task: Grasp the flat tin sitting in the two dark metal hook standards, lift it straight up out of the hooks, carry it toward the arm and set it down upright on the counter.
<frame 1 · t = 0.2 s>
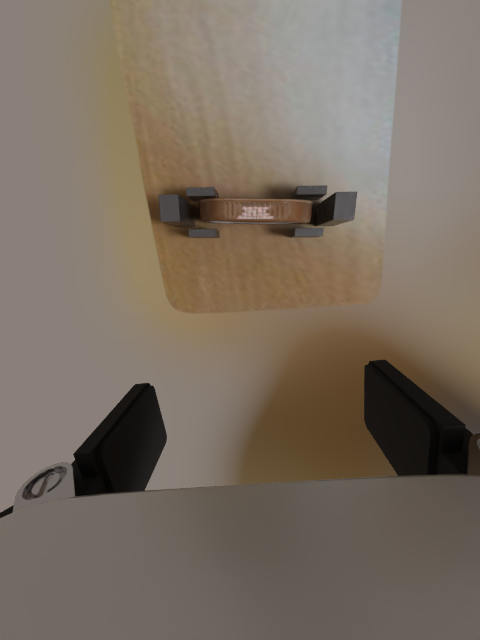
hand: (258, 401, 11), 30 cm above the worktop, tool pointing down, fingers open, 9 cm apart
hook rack: (254, 216, 36), on the worktop
tin: (255, 217, 37), resting in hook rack
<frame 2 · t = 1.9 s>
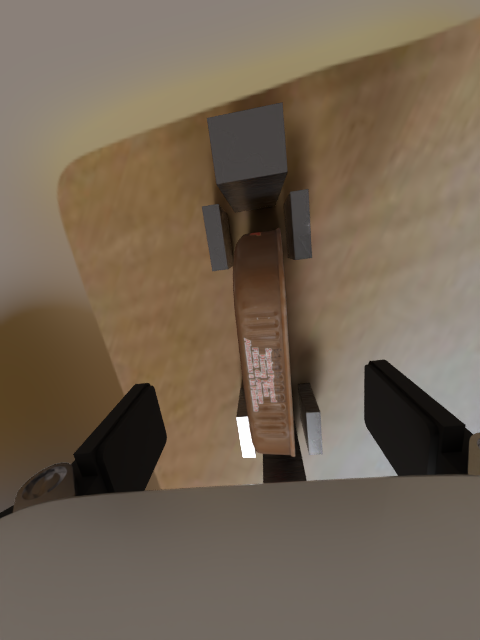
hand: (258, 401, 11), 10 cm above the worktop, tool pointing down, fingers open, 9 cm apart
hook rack: (268, 328, 20), on the worktop
tin: (267, 327, 21), resting in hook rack
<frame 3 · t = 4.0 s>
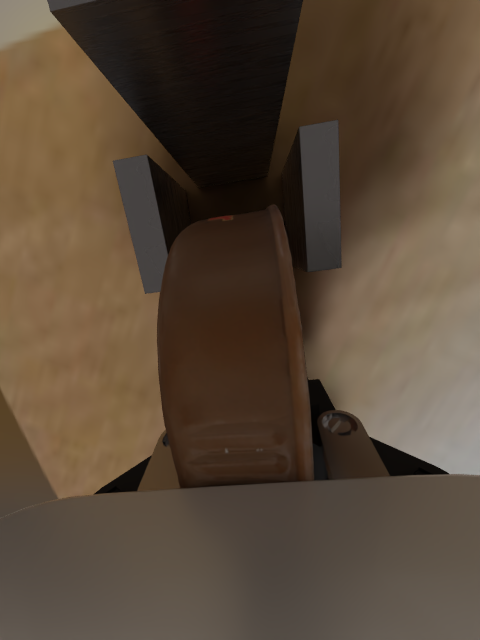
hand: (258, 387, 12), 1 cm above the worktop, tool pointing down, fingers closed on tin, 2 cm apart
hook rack: (257, 375, 13), on the worktop
tin: (253, 374, 13), resting in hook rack, touching gripper
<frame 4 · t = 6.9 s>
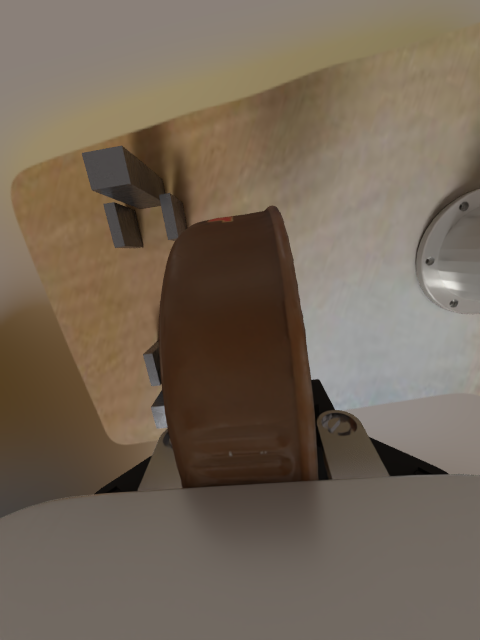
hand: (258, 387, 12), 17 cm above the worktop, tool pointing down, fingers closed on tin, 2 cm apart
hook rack: (172, 293, 28), on the worktop
tin: (252, 375, 13), point 15 cm above the worktop, touching gripper
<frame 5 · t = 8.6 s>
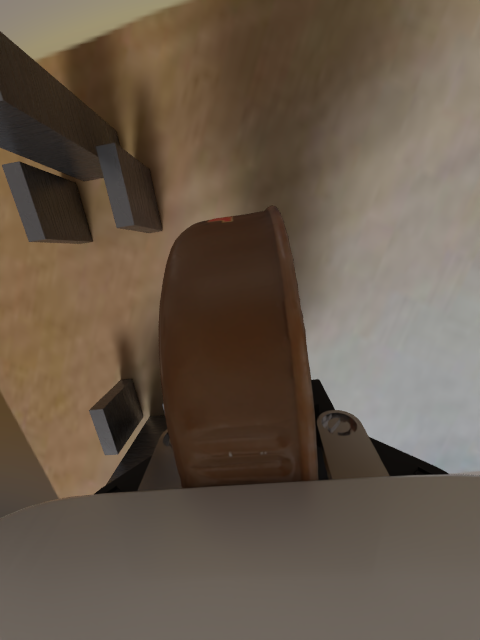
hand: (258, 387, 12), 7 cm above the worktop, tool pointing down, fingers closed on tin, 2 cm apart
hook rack: (139, 312, 18), on the worktop
tin: (252, 375, 13), point 6 cm above the worktop, touching gripper
when the fingers open (3 cm above the worktop, at t = 10.1 s): tin drops 1 cm, on the worktop.
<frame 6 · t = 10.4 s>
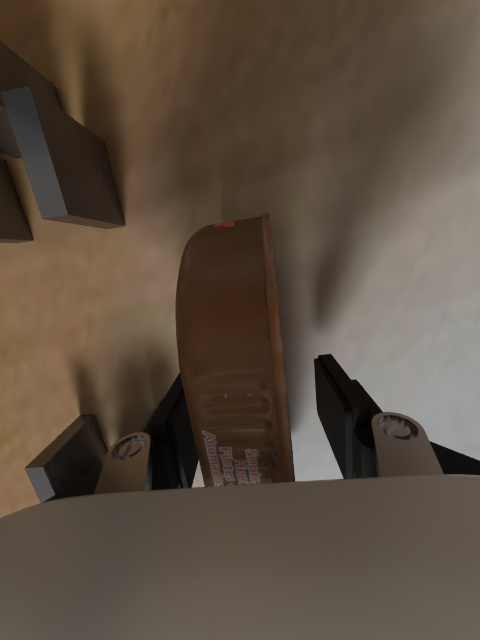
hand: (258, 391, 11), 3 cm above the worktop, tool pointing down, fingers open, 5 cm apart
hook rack: (99, 332, 14), on the worktop
tin: (255, 361, 15), on the worktop
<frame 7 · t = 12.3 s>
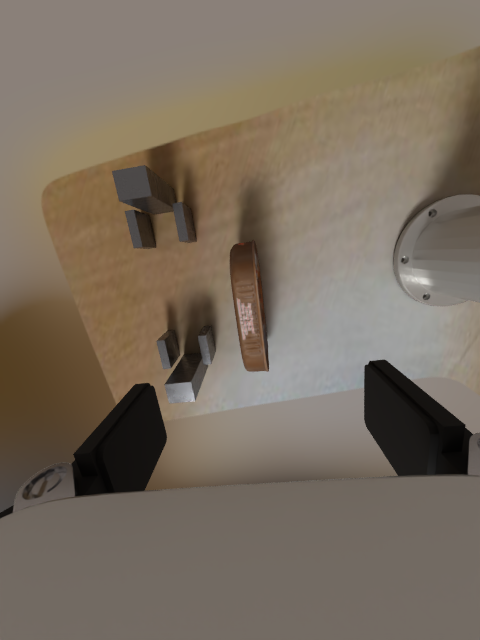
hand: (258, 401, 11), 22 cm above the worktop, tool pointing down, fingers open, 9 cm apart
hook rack: (181, 288, 32), on the worktop
tin: (251, 302, 32), on the worktop
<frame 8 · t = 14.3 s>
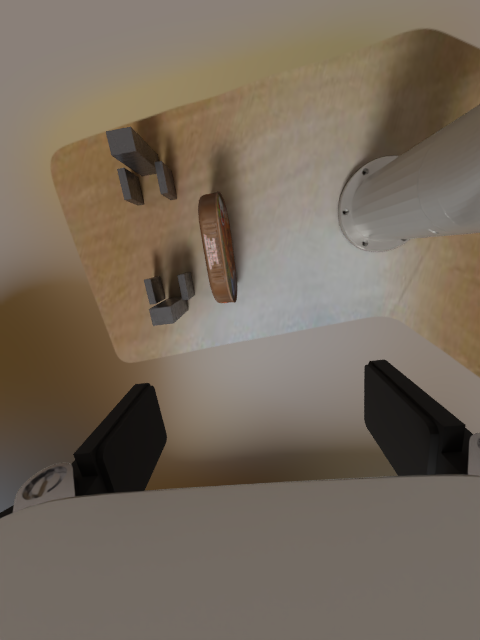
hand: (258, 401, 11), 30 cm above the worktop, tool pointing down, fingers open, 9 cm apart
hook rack: (165, 239, 38), on the worktop
tin: (223, 251, 38), on the worktop
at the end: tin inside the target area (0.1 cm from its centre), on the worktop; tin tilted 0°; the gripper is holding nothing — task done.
